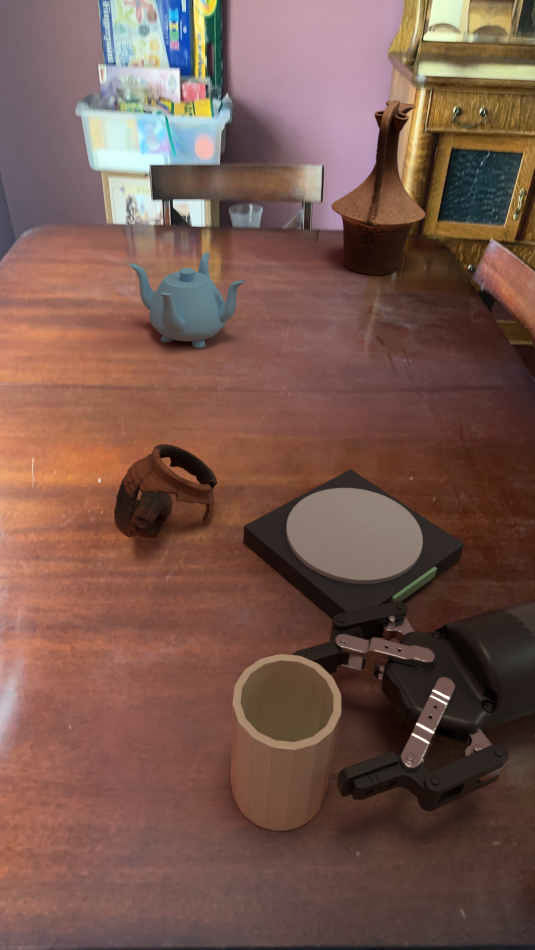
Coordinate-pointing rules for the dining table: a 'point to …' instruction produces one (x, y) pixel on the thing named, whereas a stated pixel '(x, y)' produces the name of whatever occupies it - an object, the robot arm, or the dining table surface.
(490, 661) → the robot arm
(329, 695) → the cup
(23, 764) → the dining table surface
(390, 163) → the pitcher
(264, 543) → the scale
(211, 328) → the teapot
